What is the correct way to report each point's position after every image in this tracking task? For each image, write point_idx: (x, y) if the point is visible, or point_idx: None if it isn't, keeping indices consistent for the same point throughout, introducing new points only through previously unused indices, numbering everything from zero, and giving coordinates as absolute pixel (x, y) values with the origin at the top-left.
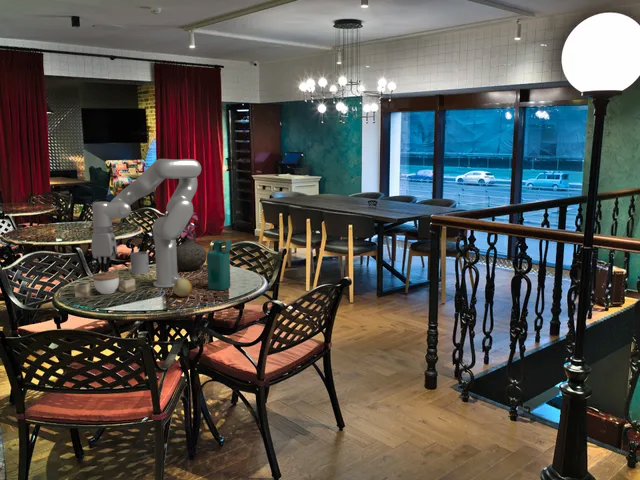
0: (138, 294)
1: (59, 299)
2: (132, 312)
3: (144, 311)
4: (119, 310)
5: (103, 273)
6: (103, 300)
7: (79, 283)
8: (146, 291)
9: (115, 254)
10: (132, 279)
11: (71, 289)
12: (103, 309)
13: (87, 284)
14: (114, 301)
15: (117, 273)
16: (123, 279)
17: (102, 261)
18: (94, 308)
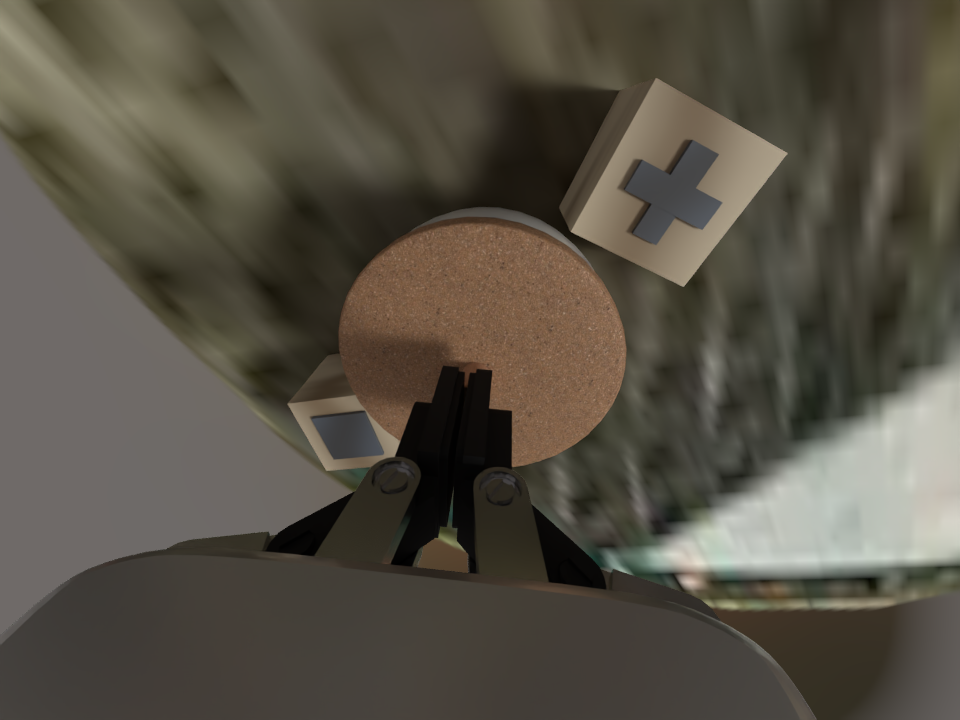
0: (783, 304)
1: (316, 463)
2: (805, 590)
3: (867, 579)
4: (731, 573)
5: (392, 303)
6: (572, 458)
7: (300, 415)
8: (854, 188)
9: (720, 646)
10: (753, 177)
11: (147, 246)
12: (646, 566)
13: (385, 432)
14: (650, 468)
15: (585, 281)
16: (626, 200)
17: (426, 541)
18: (596, 558)
